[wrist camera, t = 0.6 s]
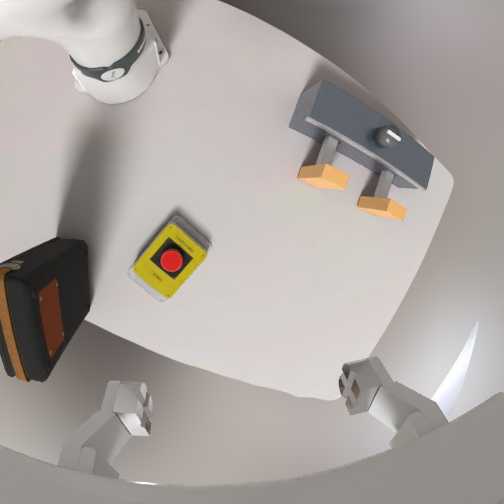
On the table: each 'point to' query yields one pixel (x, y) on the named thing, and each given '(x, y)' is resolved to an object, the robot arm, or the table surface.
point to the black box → (41, 306)
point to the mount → (360, 135)
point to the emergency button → (170, 259)
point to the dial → (388, 136)
